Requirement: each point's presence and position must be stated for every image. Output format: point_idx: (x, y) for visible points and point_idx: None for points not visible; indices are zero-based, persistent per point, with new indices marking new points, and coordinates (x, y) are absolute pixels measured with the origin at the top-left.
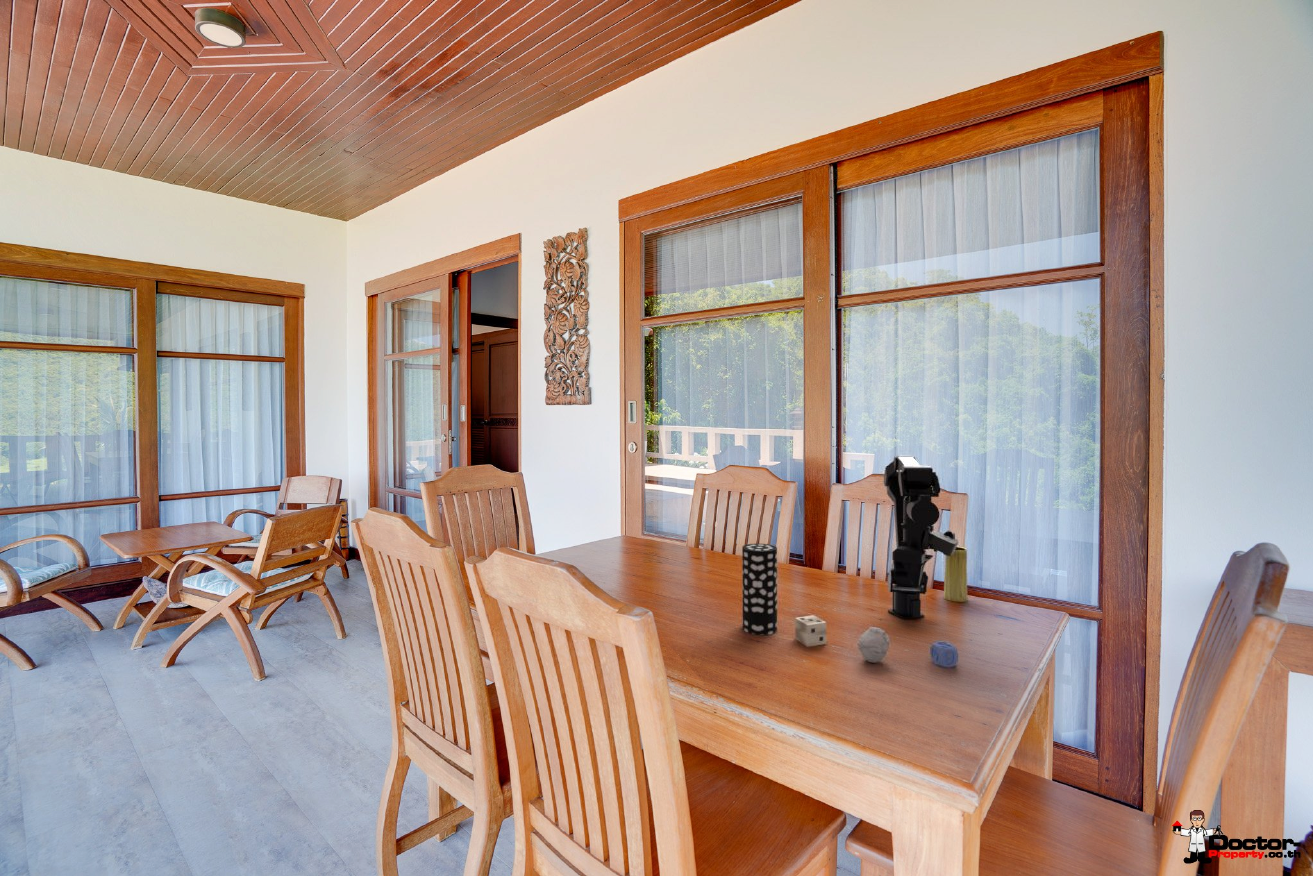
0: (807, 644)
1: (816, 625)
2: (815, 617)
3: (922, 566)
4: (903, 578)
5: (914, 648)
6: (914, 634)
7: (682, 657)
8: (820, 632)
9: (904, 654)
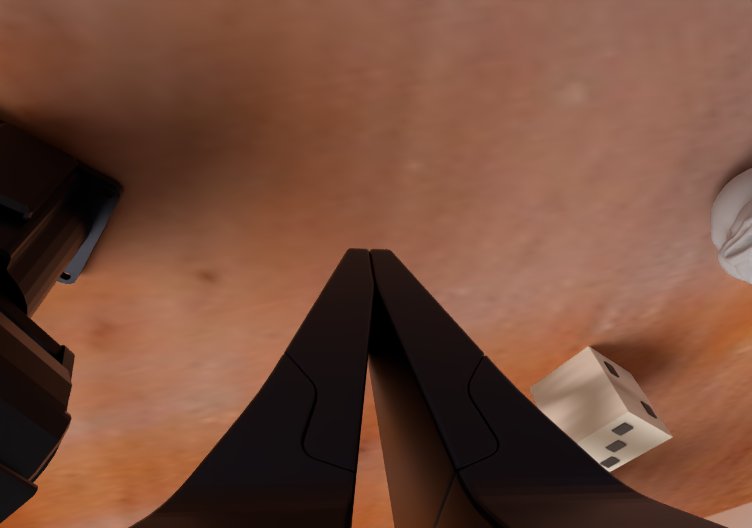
0: (634, 379)
1: (649, 420)
2: (583, 444)
3: (468, 462)
4: (16, 389)
5: (539, 60)
6: (324, 97)
7: (742, 497)
8: (625, 389)
9: (635, 91)
